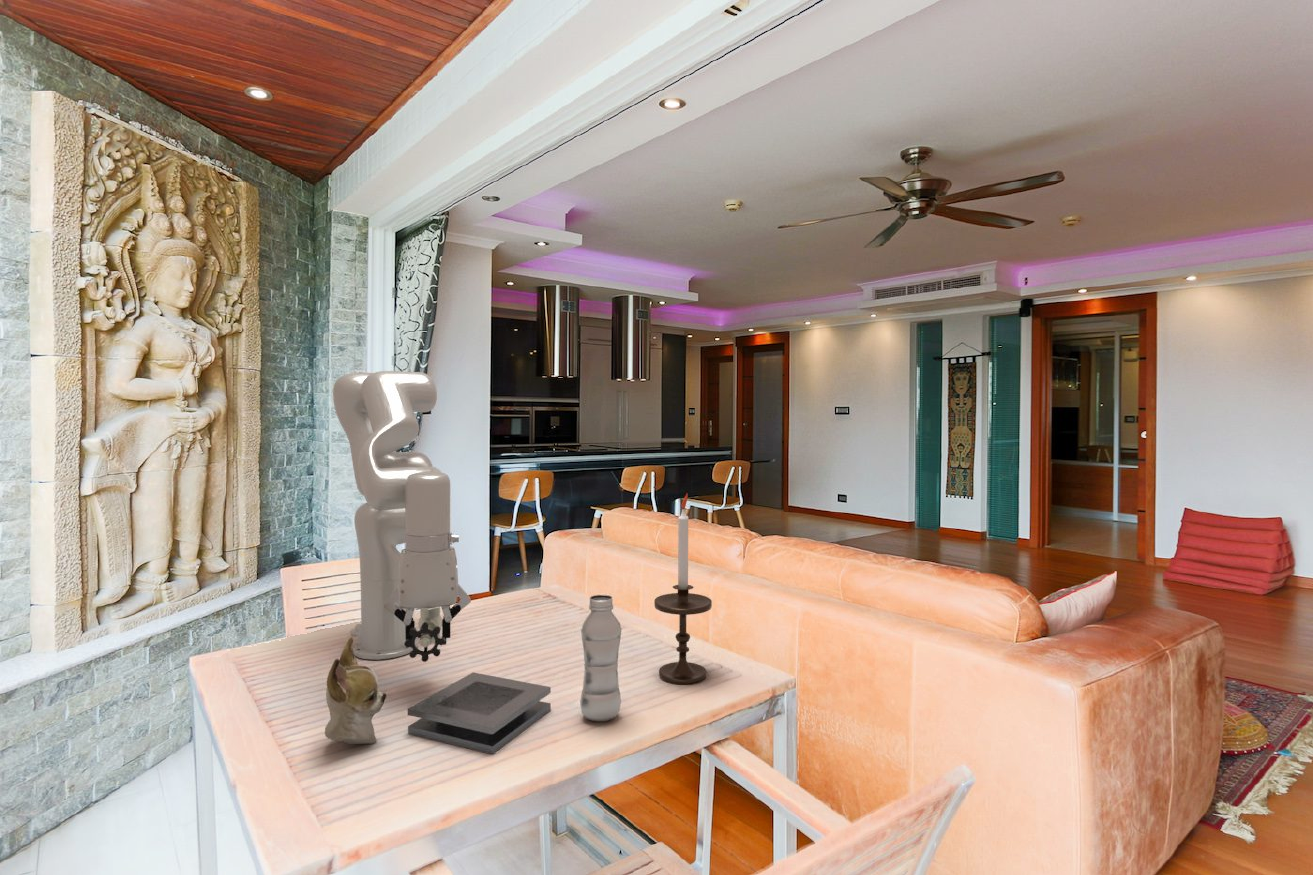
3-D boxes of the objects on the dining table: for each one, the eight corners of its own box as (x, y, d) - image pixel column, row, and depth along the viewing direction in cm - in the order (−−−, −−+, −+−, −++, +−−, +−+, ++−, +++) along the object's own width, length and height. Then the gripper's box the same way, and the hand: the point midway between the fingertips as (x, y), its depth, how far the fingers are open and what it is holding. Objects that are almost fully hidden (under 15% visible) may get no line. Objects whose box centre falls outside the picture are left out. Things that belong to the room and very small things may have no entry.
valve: (413, 638, 128) (404, 663, 117) (412, 603, 128) (404, 625, 116) (449, 635, 130) (445, 660, 118) (449, 601, 129) (445, 623, 118)
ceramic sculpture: (380, 759, 100) (379, 657, 99) (316, 765, 98) (314, 661, 97) (392, 725, 110) (391, 633, 110) (334, 730, 109) (332, 637, 108)
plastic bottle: (580, 709, 116) (580, 592, 115) (620, 708, 117) (620, 591, 116) (579, 727, 110) (579, 603, 109) (622, 725, 110) (622, 602, 110)
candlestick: (719, 670, 134) (720, 491, 132) (698, 691, 124) (699, 497, 122) (668, 661, 138) (668, 488, 137) (644, 680, 129) (645, 494, 127)
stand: (408, 733, 108) (407, 708, 107) (473, 694, 122) (473, 672, 122) (492, 754, 101) (492, 727, 101) (550, 710, 116) (550, 687, 116)
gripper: (477, 536, 127) (476, 632, 128) (378, 539, 122) (379, 639, 124) (478, 545, 120) (478, 647, 121) (373, 549, 115) (374, 655, 117)
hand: (428, 642), depth 122 cm, fingers closed on valve, 4 cm apart
